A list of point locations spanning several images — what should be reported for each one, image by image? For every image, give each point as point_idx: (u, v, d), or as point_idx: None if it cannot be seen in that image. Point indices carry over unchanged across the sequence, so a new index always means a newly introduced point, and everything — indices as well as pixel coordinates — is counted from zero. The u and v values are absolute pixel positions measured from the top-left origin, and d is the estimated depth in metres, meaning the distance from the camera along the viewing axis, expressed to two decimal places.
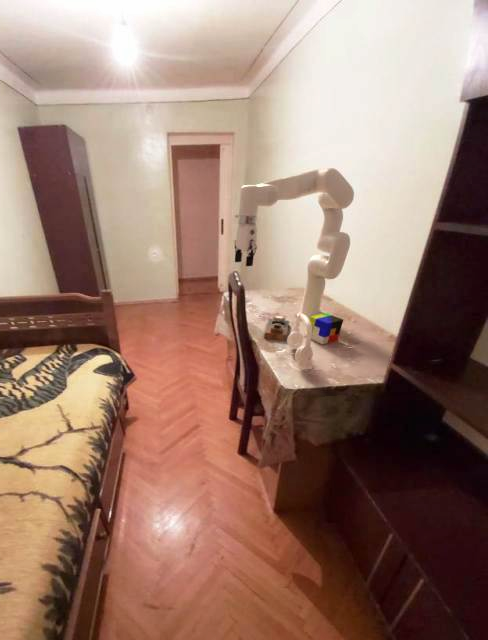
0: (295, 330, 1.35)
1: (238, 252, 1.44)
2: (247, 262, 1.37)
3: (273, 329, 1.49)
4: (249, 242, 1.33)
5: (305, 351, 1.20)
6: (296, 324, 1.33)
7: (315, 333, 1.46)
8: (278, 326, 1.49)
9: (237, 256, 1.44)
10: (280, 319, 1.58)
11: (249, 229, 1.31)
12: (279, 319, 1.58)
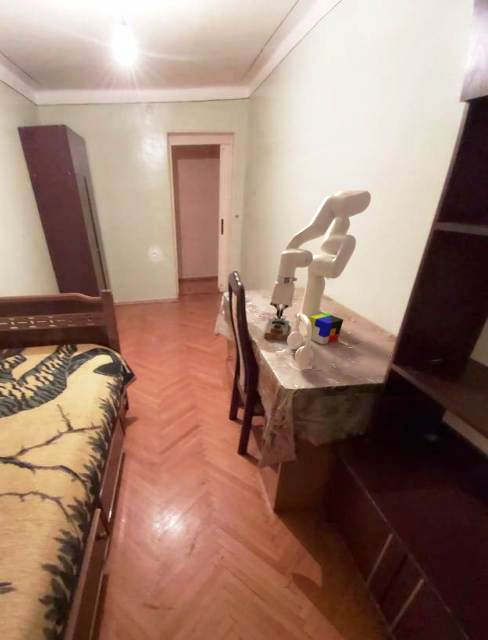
0: (295, 330, 1.35)
1: None
2: (280, 315, 1.57)
3: (273, 329, 1.49)
4: None
5: (305, 351, 1.20)
6: (296, 324, 1.33)
7: (315, 333, 1.46)
8: (278, 326, 1.49)
9: (279, 313, 1.57)
10: (280, 320, 1.58)
11: (293, 287, 1.48)
12: (279, 320, 1.58)
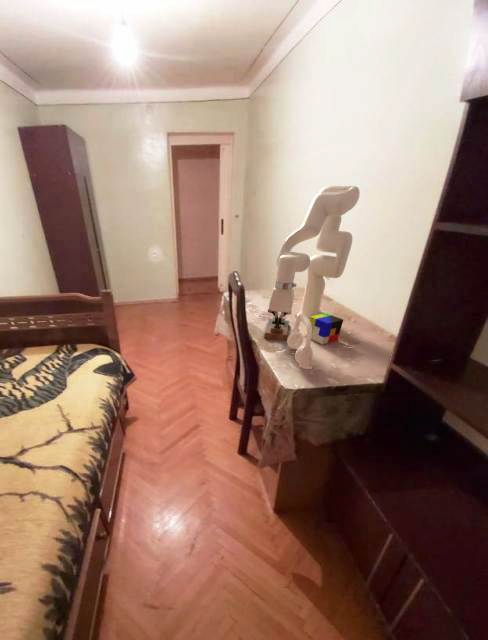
0: (295, 330, 1.35)
1: None
2: (279, 323, 1.48)
3: (273, 329, 1.49)
4: (292, 304, 1.42)
5: (305, 351, 1.20)
6: (296, 324, 1.33)
7: (315, 333, 1.46)
8: (278, 327, 1.49)
9: None
10: None
11: (293, 293, 1.39)
12: None
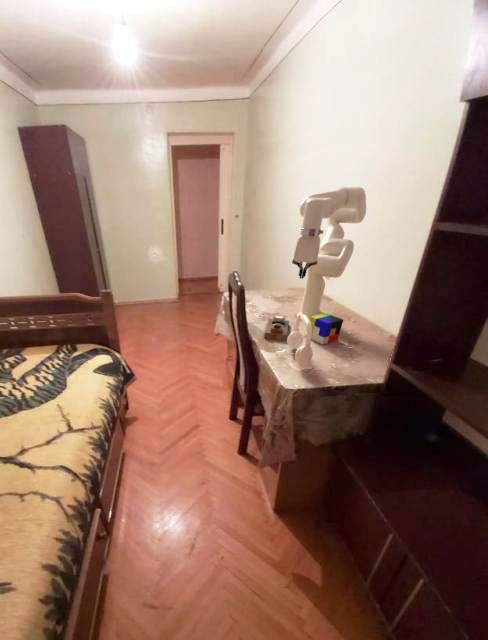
0: (295, 330, 1.35)
1: None
2: (304, 275, 1.43)
3: (273, 329, 1.49)
4: (318, 253, 1.37)
5: (305, 351, 1.20)
6: (296, 324, 1.33)
7: (315, 333, 1.46)
8: (278, 326, 1.49)
9: (302, 272, 1.43)
10: (280, 319, 1.58)
11: (319, 241, 1.34)
12: (279, 319, 1.58)
